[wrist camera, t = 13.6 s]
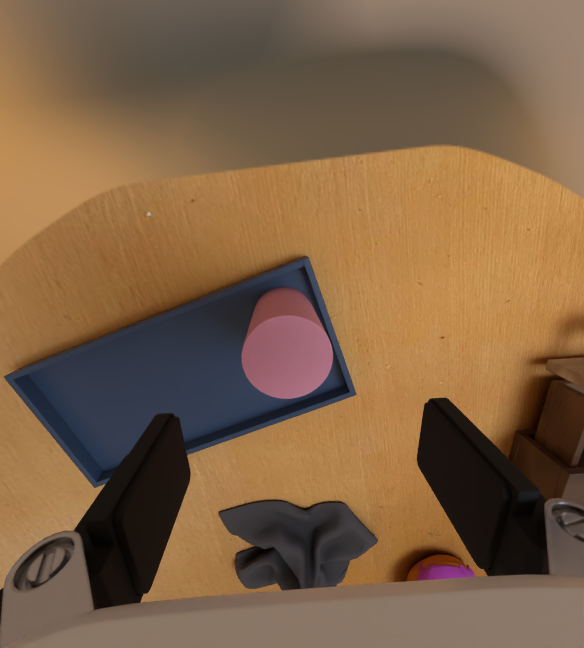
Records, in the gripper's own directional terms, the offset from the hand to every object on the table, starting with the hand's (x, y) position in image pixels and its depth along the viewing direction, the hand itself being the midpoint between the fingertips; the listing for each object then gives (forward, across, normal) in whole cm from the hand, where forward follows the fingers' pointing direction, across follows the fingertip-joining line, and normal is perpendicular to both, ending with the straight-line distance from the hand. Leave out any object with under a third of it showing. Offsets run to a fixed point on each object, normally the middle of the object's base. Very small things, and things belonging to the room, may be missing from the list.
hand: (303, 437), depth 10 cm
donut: (+18, -20, +42) cm, 50 cm away
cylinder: (+18, +1, +1) cm, 18 cm away
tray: (+18, +10, +7) cm, 22 cm away
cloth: (+18, +1, +34) cm, 39 cm away
